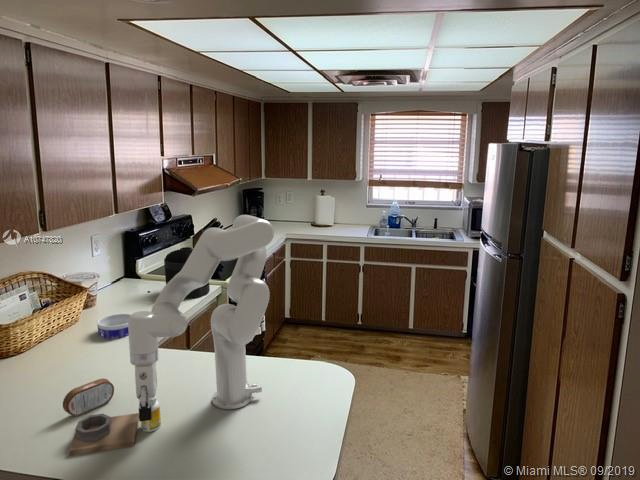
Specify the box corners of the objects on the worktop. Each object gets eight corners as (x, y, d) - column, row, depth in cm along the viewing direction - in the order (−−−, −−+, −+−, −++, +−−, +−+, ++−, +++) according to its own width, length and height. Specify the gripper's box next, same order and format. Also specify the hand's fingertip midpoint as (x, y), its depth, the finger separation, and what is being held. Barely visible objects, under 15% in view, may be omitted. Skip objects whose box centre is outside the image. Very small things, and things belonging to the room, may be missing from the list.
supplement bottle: (138, 432, 136) (136, 401, 134) (145, 421, 141) (143, 392, 139) (157, 432, 136) (155, 401, 134) (163, 421, 141) (161, 392, 139)
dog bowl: (144, 329, 211) (142, 316, 209) (115, 342, 197) (113, 328, 196) (120, 323, 218) (118, 311, 216) (90, 335, 204) (89, 322, 203)
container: (169, 288, 269) (166, 244, 264) (210, 285, 273) (208, 243, 268) (164, 300, 248) (160, 254, 243) (208, 297, 252) (206, 252, 247)
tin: (111, 397, 155) (109, 373, 153) (116, 400, 153) (114, 376, 151) (63, 418, 143) (60, 392, 142) (68, 421, 141) (65, 396, 140)
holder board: (139, 417, 143) (137, 403, 142) (133, 445, 130) (132, 431, 129) (81, 425, 139) (79, 411, 138) (69, 455, 126) (67, 440, 125)
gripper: (156, 367, 127) (158, 426, 130) (160, 342, 143) (162, 394, 146) (125, 370, 125) (129, 429, 128) (133, 344, 141) (136, 397, 144)
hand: (147, 410), depth 137 cm, fingers open, 9 cm apart
